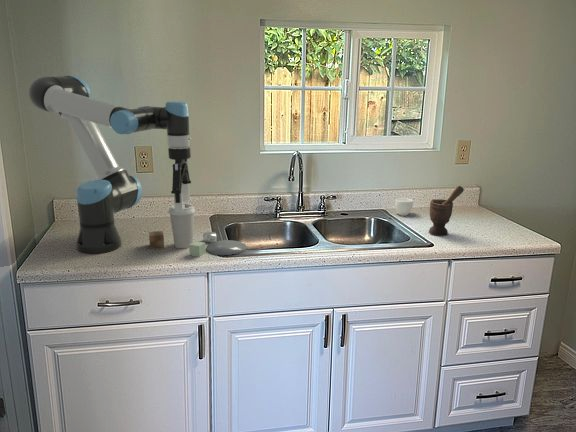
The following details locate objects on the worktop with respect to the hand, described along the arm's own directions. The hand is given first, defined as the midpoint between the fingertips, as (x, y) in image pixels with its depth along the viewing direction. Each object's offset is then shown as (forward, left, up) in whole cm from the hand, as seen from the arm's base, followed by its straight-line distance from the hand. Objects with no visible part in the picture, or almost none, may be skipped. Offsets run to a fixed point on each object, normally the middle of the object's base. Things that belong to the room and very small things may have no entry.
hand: (182, 206), depth 190 cm
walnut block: (-10, -1, -15) cm, 18 cm away
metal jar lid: (+9, +5, -15) cm, 18 cm away
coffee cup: (0, 0, -15) cm, 15 cm away
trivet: (+16, -3, -15) cm, 22 cm away
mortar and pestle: (+100, +17, -15) cm, 102 cm away
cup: (+90, +45, -15) cm, 102 cm away
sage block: (+6, -9, -15) cm, 18 cm away
